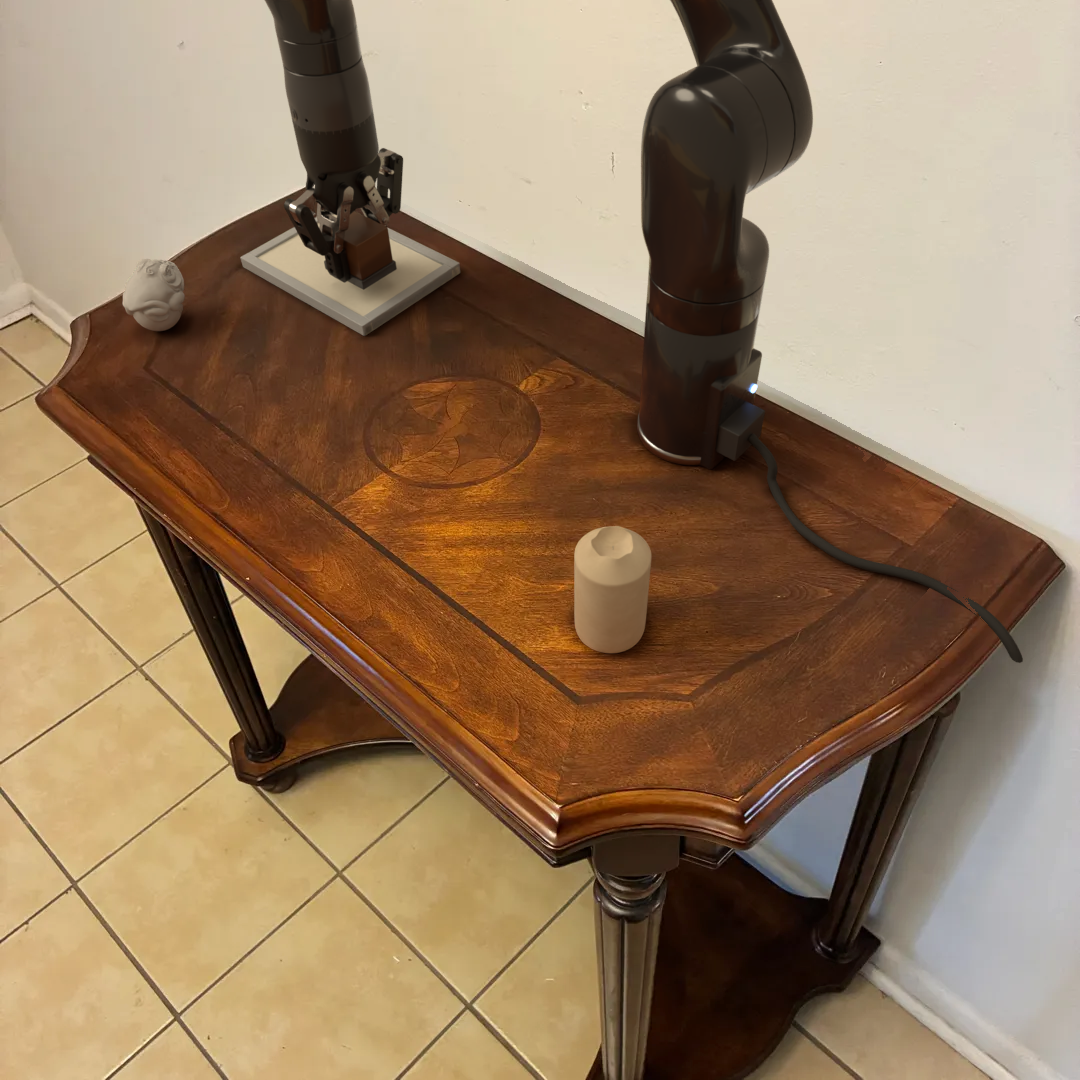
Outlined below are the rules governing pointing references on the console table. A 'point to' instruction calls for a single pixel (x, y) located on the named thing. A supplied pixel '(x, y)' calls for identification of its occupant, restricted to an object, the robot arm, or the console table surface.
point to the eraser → (367, 251)
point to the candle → (611, 588)
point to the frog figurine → (155, 294)
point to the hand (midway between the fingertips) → (361, 266)
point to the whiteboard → (346, 302)
